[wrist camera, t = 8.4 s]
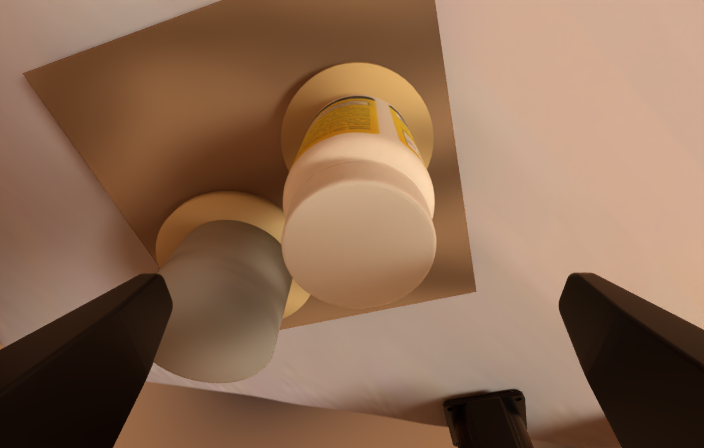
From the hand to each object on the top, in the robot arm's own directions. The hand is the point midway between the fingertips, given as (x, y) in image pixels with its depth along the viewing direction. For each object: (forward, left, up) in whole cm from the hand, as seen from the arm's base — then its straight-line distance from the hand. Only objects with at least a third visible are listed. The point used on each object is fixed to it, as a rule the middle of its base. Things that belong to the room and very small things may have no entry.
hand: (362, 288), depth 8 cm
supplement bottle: (0, 0, -10) cm, 10 cm away
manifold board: (-2, +5, -12) cm, 13 cm away
